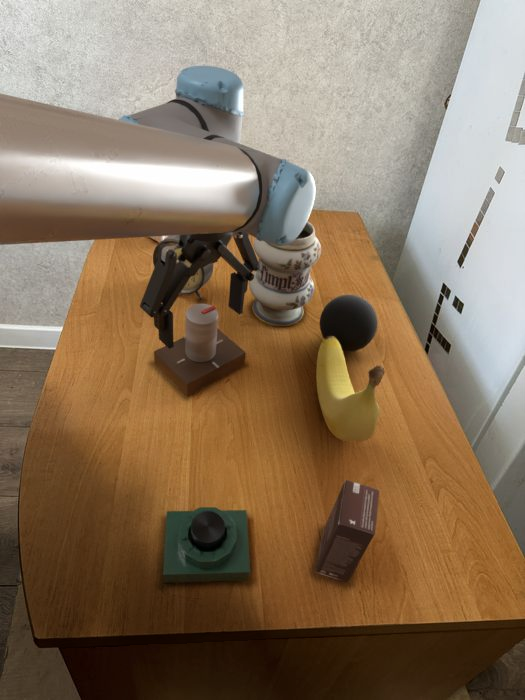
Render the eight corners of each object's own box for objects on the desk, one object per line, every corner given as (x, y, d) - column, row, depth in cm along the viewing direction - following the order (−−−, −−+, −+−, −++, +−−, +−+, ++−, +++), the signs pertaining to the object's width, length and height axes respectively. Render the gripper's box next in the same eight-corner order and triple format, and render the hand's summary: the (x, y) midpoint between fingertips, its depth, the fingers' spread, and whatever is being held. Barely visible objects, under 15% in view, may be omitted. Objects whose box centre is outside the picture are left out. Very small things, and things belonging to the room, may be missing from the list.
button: (190, 551, 61) (190, 542, 60) (190, 519, 64) (191, 510, 63) (224, 550, 62) (225, 542, 60) (223, 519, 65) (224, 510, 63)
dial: (197, 366, 84) (199, 327, 78) (178, 349, 86) (178, 309, 81) (222, 353, 86) (225, 314, 81) (203, 337, 89) (205, 298, 83)
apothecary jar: (262, 283, 107) (273, 202, 95) (317, 304, 104) (336, 222, 92) (235, 316, 99) (243, 231, 86) (294, 339, 96) (311, 254, 84)
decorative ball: (323, 319, 101) (334, 276, 94) (374, 336, 99) (389, 293, 92) (308, 352, 94) (318, 307, 87) (362, 370, 92) (377, 327, 85)
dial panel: (187, 397, 83) (187, 383, 81) (153, 363, 87) (153, 350, 85) (245, 365, 89) (246, 351, 87) (211, 335, 94) (211, 322, 92)
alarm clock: (152, 287, 102) (149, 211, 91) (167, 274, 106) (166, 199, 95) (201, 307, 99) (204, 231, 88) (215, 292, 103) (220, 218, 92)
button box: (163, 582, 62) (162, 567, 59) (167, 519, 68) (166, 503, 65) (248, 580, 63) (251, 565, 60) (244, 518, 69) (247, 502, 66)
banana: (306, 362, 92) (328, 266, 78) (339, 363, 92) (367, 268, 79) (327, 475, 75) (360, 378, 62) (366, 475, 76) (408, 379, 62)
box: (350, 583, 64) (376, 535, 56) (314, 572, 65) (334, 523, 56) (356, 539, 68) (380, 488, 60) (322, 529, 69) (342, 477, 61)
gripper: (139, 243, 60) (148, 373, 74) (294, 189, 73) (276, 308, 88) (104, 215, 63) (119, 344, 78) (258, 168, 77) (246, 286, 91)
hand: (202, 325), depth 83 cm, fingers open, 13 cm apart
